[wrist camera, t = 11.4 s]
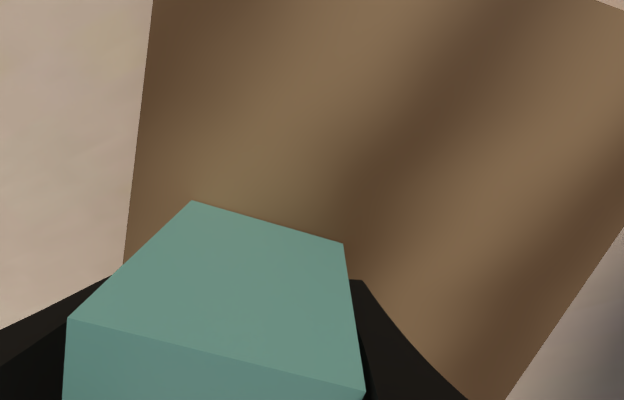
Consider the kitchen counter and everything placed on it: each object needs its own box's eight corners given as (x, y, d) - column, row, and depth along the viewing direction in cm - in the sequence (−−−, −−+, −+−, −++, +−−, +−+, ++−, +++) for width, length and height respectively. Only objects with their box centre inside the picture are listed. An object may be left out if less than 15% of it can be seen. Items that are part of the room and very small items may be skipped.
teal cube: (191, 200, 9) (50, 332, 4) (343, 243, 10) (368, 409, 5) (167, 323, 11) (42, 524, 6) (299, 356, 11) (285, 572, 6)
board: (697, 57, 9) (972, 40, 5) (469, 410, 14) (527, 537, 10) (189, -128, 8) (69, -320, 4) (128, 328, 12) (46, 436, 9)
